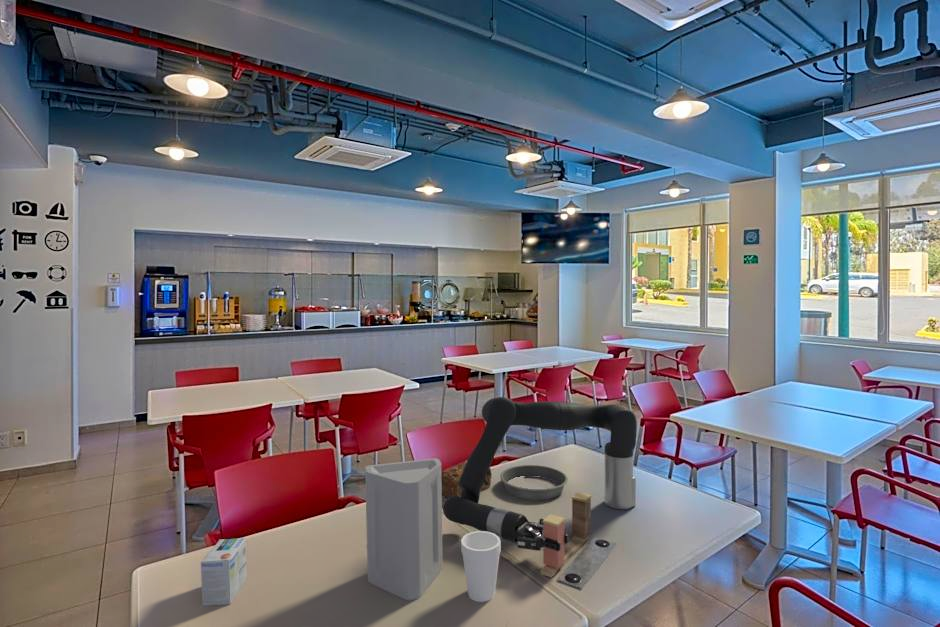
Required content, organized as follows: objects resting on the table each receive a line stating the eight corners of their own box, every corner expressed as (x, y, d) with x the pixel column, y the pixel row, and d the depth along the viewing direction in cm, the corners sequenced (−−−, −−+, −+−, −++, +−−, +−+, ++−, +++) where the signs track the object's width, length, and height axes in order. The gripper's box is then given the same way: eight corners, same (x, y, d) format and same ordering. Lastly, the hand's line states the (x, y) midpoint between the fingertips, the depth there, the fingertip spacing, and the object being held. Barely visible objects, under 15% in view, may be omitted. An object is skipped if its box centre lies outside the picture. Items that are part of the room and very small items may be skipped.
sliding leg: (550, 556, 131) (550, 514, 130) (564, 561, 128) (564, 518, 128) (543, 563, 127) (542, 520, 127) (557, 569, 125) (557, 524, 124)
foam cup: (501, 583, 121) (501, 531, 121) (500, 607, 112) (500, 551, 112) (463, 581, 122) (463, 530, 122) (459, 604, 113) (458, 550, 113)
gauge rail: (577, 533, 146) (577, 491, 145) (591, 537, 143) (591, 494, 143) (538, 573, 125) (538, 524, 125) (553, 579, 123) (553, 529, 122)
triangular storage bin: (372, 607, 113) (370, 487, 111) (367, 572, 127) (365, 465, 126) (452, 592, 118) (451, 478, 117) (439, 560, 132) (437, 457, 131)
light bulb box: (220, 580, 124) (219, 538, 124) (248, 578, 125) (246, 536, 124) (201, 607, 113) (199, 561, 113) (231, 605, 114) (229, 559, 114)
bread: (472, 480, 188) (471, 454, 188) (493, 488, 181) (492, 461, 180) (436, 495, 175) (435, 468, 174) (457, 504, 167) (456, 475, 167)
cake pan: (573, 502, 168) (573, 489, 168) (502, 502, 168) (502, 489, 168) (561, 475, 193) (561, 464, 192) (498, 475, 193) (498, 464, 193)
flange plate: (594, 538, 143) (594, 536, 143) (616, 545, 139) (616, 543, 139) (557, 580, 122) (557, 578, 122) (581, 589, 119) (581, 586, 119)
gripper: (492, 521, 130) (551, 540, 120) (519, 502, 141) (575, 518, 131) (493, 549, 130) (551, 570, 120) (519, 528, 142) (575, 545, 132)
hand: (563, 542), depth 126 cm, fingers closed on sliding leg, 4 cm apart
